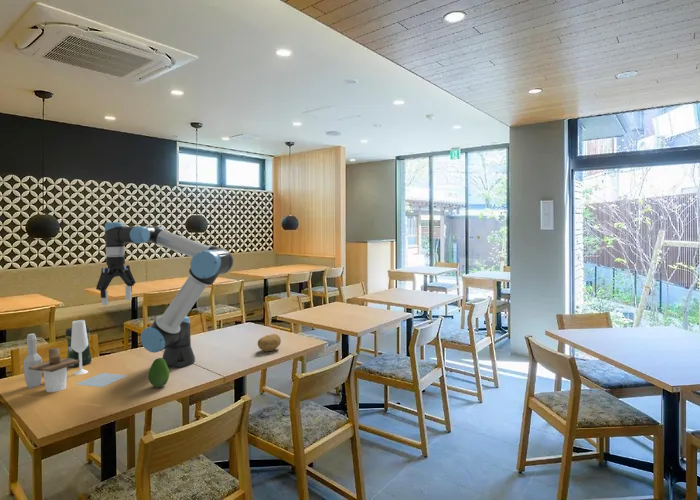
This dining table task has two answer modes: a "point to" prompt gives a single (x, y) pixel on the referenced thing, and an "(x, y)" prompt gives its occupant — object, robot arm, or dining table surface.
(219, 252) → the robot arm
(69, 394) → the dining table surface
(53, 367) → the lid
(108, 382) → the mat
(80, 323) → the champagne flute
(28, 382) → the faceted bottle
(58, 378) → the white cup
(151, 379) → the avocado
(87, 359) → the wine bottles
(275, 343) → the potato
